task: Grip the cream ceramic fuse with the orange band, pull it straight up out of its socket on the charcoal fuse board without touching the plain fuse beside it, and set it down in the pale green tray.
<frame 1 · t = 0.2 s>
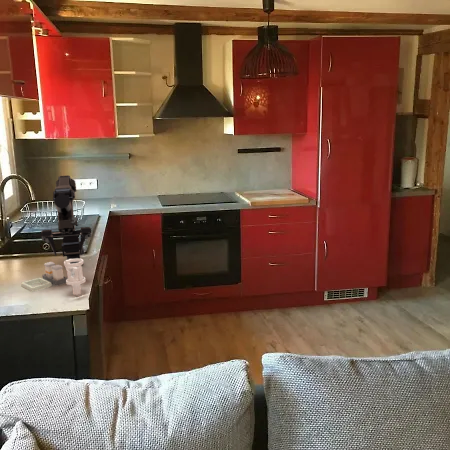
hand: (68, 254, 195), 15 cm above the worktop, tool tilted 30°, fingers open, 9 cm apart
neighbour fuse: (59, 282, 205), point 1 cm above the worktop, touching fuse board
fuse board: (55, 283, 207), on the worktop
strainer: (77, 296, 192), on the worktop
tray: (36, 288, 202), on the worktop
marked fuse: (51, 279, 209), point 1 cm above the worktop, touching fuse board
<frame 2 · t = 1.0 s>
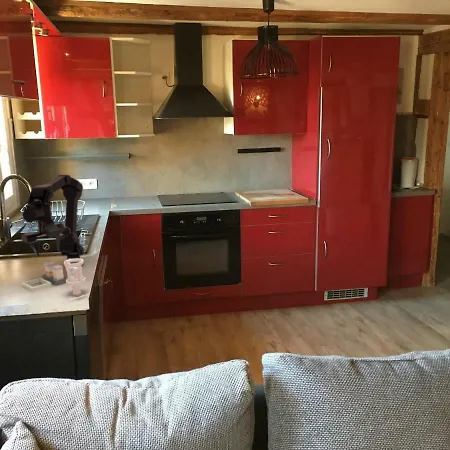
hand: (48, 254, 206), 12 cm above the worktop, tool pointing down, fingers open, 9 cm apart
nothing on the worktop moved.
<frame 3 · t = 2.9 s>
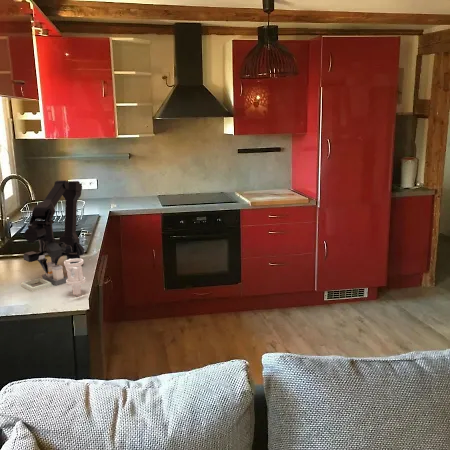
hand: (50, 272, 208), 4 cm above the worktop, tool pointing down, fingers closed on marked fuse, 3 cm apart
marked fuse: (51, 279, 209), point 1 cm above the worktop, touching fuse board, gripper
everything else where it was.
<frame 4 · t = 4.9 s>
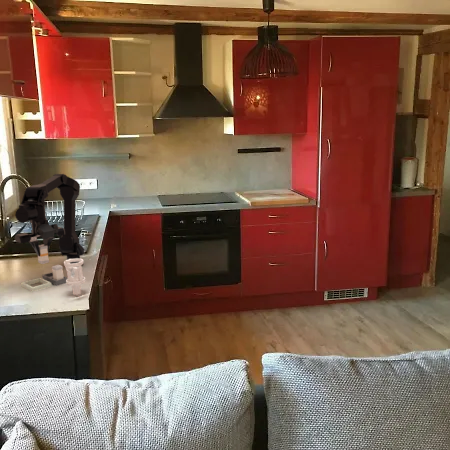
hand: (42, 255, 204), 12 cm above the worktop, tool pointing down, fingers closed on marked fuse, 3 cm apart
marked fuse: (43, 262, 204), point 9 cm above the worktop, touching gripper
everything else where it was.
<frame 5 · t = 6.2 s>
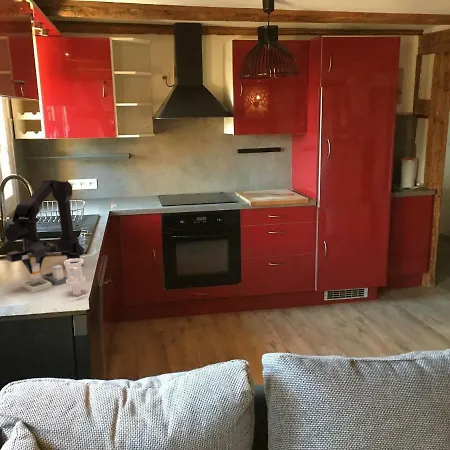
hand: (34, 272, 200), 7 cm above the worktop, tool pointing down, fingers closed on marked fuse, 3 cm apart
marked fuse: (35, 279, 201), point 4 cm above the worktop, touching gripper
everything else where it was.
when the fingers open (5 cm above the worktop, at t = 7.1 s): marked fuse drops 1 cm, resting on tray.
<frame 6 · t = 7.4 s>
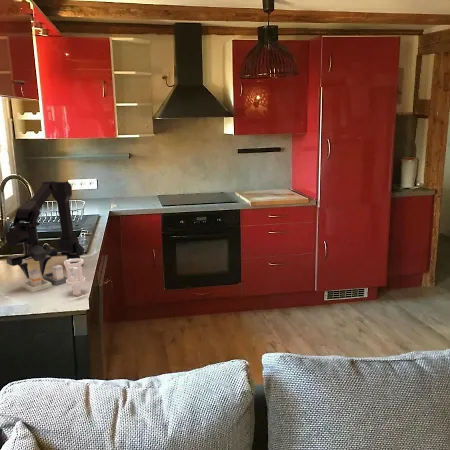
hand: (35, 276, 200), 5 cm above the worktop, tool pointing down, fingers open, 6 cm apart
marked fuse: (36, 287, 201), point 1 cm above the worktop, touching tray
everything else where it was.
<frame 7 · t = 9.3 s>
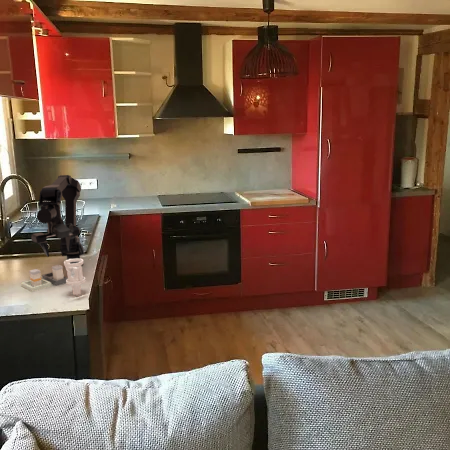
hand: (58, 253, 208), 12 cm above the worktop, tool pointing down, fingers open, 9 cm apart
nothing on the worktop moved.
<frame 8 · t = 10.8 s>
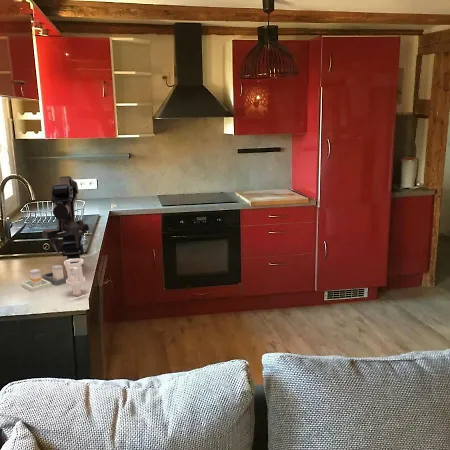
hand: (68, 250, 211), 12 cm above the worktop, tool pointing down, fingers open, 9 cm apart
nothing on the worktop moved.
at the end: marked fuse 0.0 cm off-centre on the tray, point 0.6 cm above the tray's base; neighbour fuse moved 0.0 cm from its start; the gripper is holding nothing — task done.
